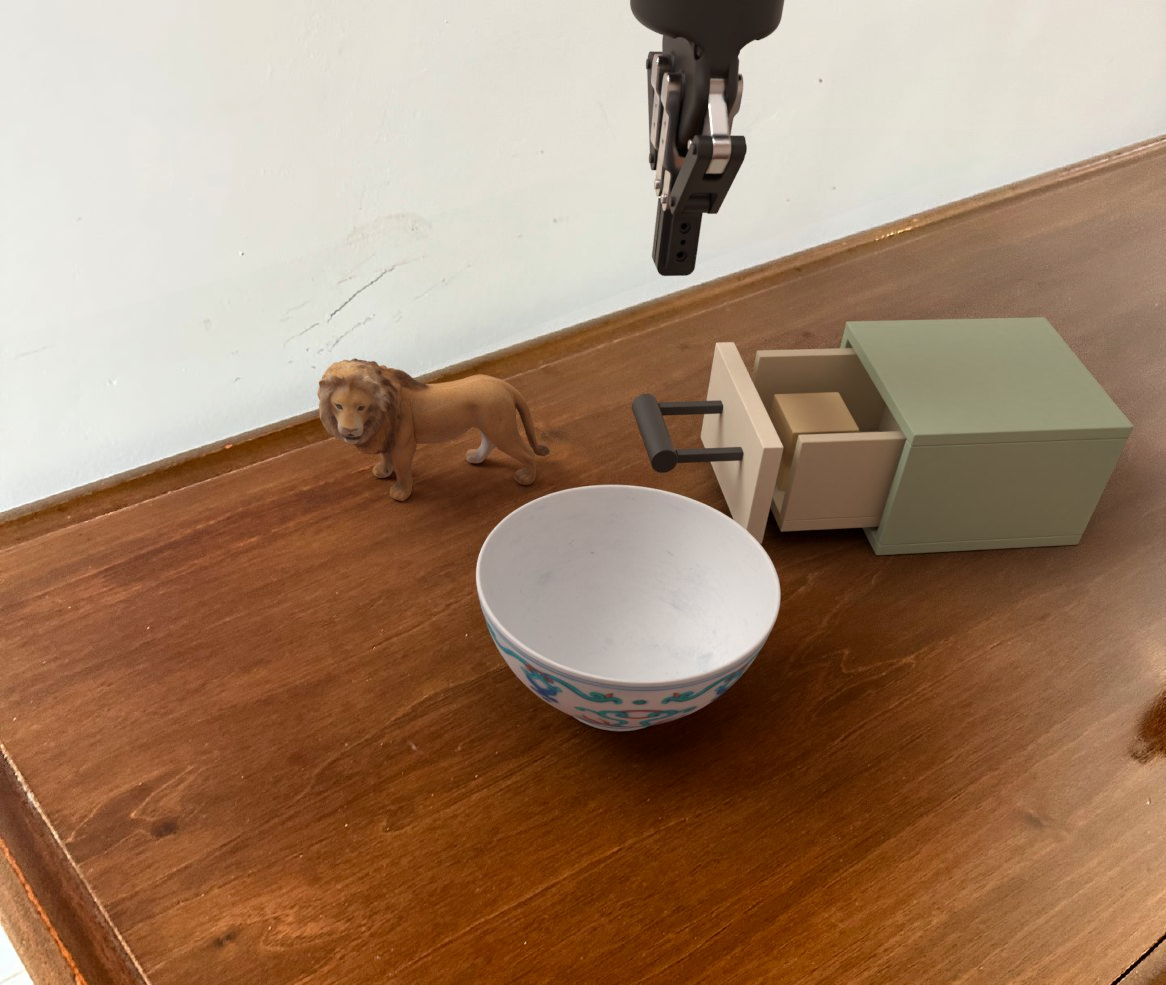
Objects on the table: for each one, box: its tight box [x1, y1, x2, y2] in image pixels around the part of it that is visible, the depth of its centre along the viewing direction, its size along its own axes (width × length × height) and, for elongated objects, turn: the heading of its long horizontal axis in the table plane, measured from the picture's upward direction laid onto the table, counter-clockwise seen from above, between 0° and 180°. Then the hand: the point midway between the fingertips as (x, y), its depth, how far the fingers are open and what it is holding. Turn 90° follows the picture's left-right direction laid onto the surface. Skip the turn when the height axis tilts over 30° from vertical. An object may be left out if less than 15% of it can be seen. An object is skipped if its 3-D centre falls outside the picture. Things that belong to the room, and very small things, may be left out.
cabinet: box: [839, 316, 1134, 556], centre depth 75 cm, size 14×13×9 cm
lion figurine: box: [316, 357, 551, 502], centre depth 72 cm, size 15×5×9 cm, turn 115°
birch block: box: [770, 392, 859, 491], centre depth 74 cm, size 4×4×4 cm
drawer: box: [631, 341, 907, 545], centre depth 73 cm, size 18×11×7 cm, turn 100°
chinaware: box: [475, 484, 782, 732], centre depth 61 cm, size 15×15×8 cm
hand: (672, 269), depth 69 cm, fingers closed
